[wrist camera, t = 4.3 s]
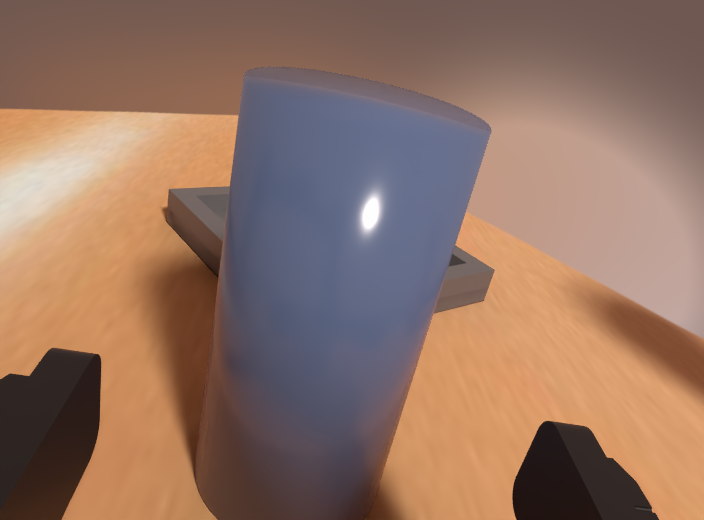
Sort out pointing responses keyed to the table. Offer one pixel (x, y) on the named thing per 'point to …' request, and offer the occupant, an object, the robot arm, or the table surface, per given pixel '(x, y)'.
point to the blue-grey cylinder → (326, 287)
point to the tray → (208, 231)
